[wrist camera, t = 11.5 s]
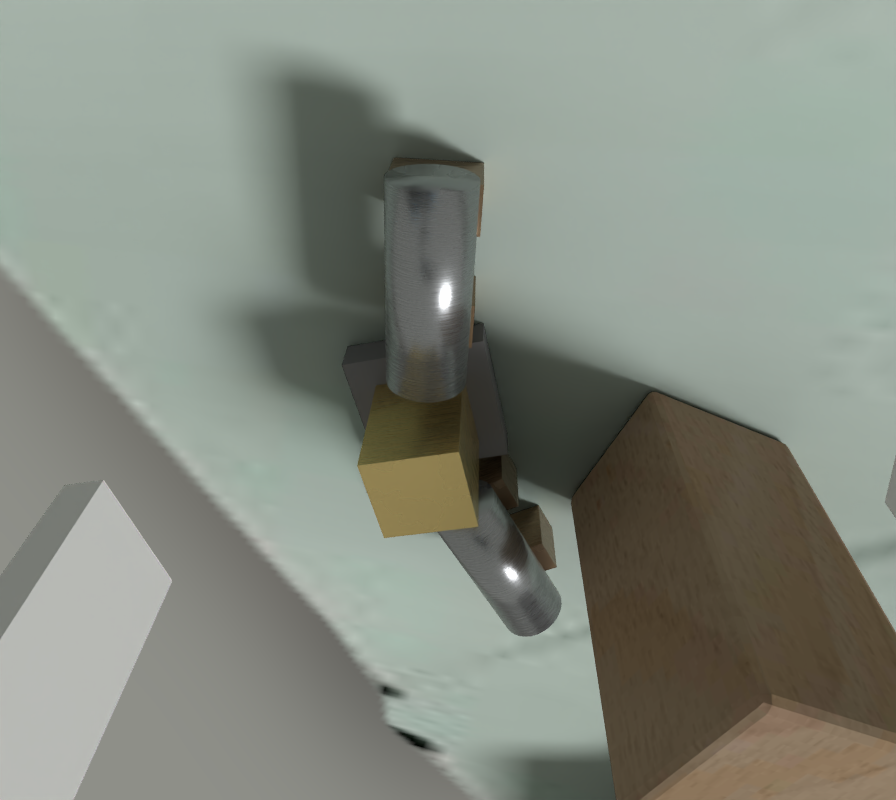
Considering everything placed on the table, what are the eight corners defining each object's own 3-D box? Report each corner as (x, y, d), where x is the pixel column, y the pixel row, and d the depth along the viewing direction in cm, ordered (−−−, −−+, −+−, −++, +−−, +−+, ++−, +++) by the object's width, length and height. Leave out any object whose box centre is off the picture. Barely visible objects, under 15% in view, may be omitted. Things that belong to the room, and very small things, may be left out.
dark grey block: (347, 346, 40) (341, 365, 38) (483, 323, 38) (483, 341, 37) (384, 452, 44) (380, 472, 42) (507, 434, 43) (508, 454, 41)
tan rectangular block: (397, 452, 41) (384, 538, 36) (375, 385, 39) (357, 465, 33) (479, 441, 41) (478, 526, 35) (462, 371, 38) (459, 452, 32)
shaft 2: (433, 456, 44) (425, 542, 38) (495, 433, 43) (497, 518, 37) (499, 553, 49) (501, 644, 43) (556, 535, 48) (567, 626, 41)
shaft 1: (393, 140, 33) (373, 190, 27) (485, 145, 33) (485, 197, 27) (393, 323, 39) (377, 399, 32) (471, 328, 38) (469, 405, 32)
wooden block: (567, 498, 46) (614, 820, 29) (649, 385, 40) (764, 703, 24) (694, 543, 48) (804, 870, 31) (788, 442, 42) (983, 771, 26)
